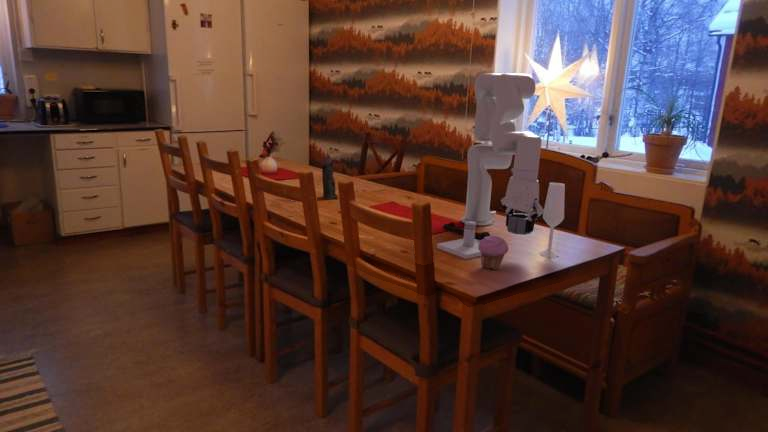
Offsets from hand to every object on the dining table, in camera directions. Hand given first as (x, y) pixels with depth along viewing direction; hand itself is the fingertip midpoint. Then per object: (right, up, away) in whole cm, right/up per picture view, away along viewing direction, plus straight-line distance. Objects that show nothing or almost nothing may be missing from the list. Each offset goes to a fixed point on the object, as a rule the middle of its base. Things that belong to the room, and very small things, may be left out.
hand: (519, 228), depth 172 cm
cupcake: (-11, -12, -8) cm, 18 cm away
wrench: (-12, -4, +25) cm, 28 cm away
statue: (-69, +12, +81) cm, 107 cm away
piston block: (-15, -7, +9) cm, 19 cm away
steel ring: (0, -1, 0) cm, 1 cm away
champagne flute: (+12, -9, +7) cm, 17 cm away
